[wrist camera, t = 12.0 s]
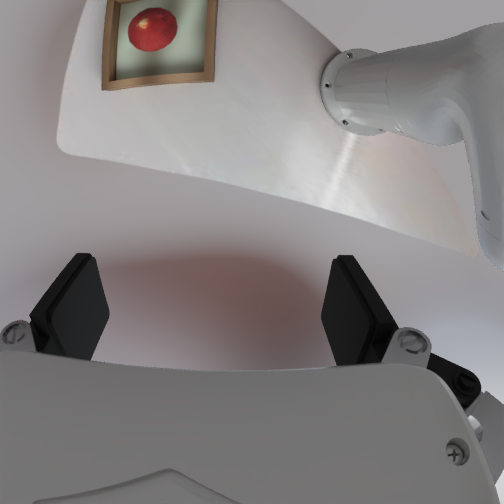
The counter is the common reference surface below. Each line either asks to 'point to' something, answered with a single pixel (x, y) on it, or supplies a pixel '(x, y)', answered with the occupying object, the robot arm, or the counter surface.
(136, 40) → the dark red round piece
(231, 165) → the counter surface
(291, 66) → the counter surface
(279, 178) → the counter surface
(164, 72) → the tray
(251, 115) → the counter surface
